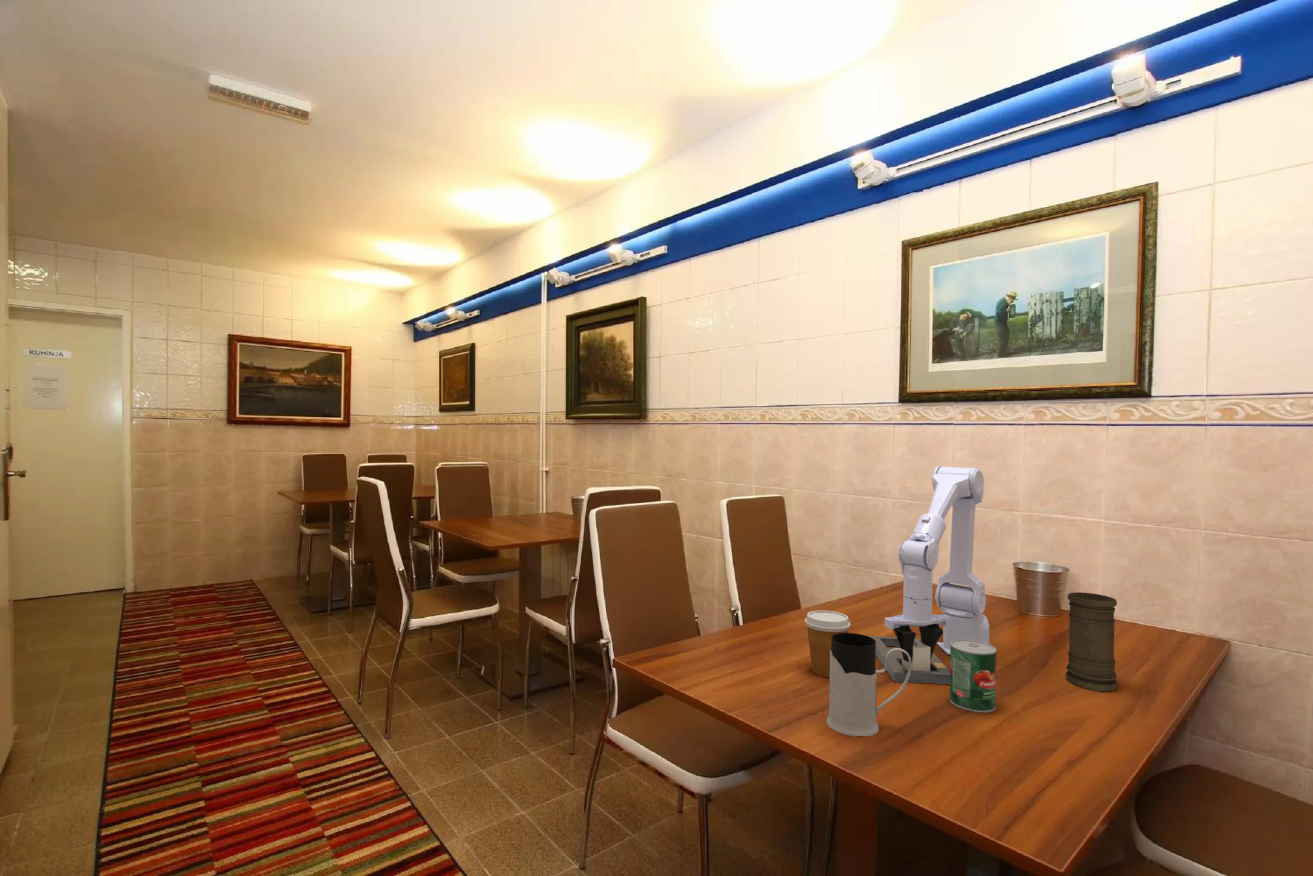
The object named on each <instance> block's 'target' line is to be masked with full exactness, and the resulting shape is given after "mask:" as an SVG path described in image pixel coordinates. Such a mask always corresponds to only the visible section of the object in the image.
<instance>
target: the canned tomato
mask: <svg viewBox="0 0 1313 876" xmlns="http://www.w3.org/2000/svg"><path fill="white" fill-rule="evenodd" d="M950 645H951V649H950V655H949V657H950V658H949V659H950V660H949V662H950V663H949V670H950V685H949V701H950V703H951V704H952V705H953V704H954V705H953V706H955V707H956V708H959V709H961V708H962V709H961V710H964V711H967V710H969V711H968V712H971V711H975V712H974V713H979V712H980V714H982V712H983V714H986V713H987V714H988V713H992V712H994V711H995V710H996V709H997V707H996V703H997V701H996V700H997V696H996V695H997V693H996V691H997V648H996V647H995V646H994V645H992V644H990V643H989V644H987V643H984V642H980V641H974V640H954V641H952V642H951V643H950Z"/></svg>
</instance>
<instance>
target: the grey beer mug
mask: <svg viewBox="0 0 1313 876" xmlns="http://www.w3.org/2000/svg"><path fill="white" fill-rule="evenodd" d="M869 636H870V635H865V634H860V633H853V632H848V633H838V634H834V635H832V637H831V651H830V677H829V700H828V701H829V703H828V704H829V710H828V711H829V712H828V716H827V718H826V724H827V726H828V727H829V728H831V730H833V731H834V732H837V733H839V734H842V735H846V736H851V737H857V736H865V737H870V736H871V737H872V736H874V735H876V734H877V733H878V732H879V730H880V729H879V728H880V727H879V725H878V723H877V721H878V720H877V717H878V714H879V712H880V710H881V709H882V708H884V707H885V706H886V705H888V704H889V703H890V702H892V701H893V700H894V699H895V698H897V697H898V696H899V695H900V694H901V693H902V692H903V691H904V689H905V688H906V686H907V684H908V683H907V682H908V680H909V677H910V673H911V658H910V656H909V654H908V653H907V652H906V651H905V650H903V649H900V648H901V647H893V648H894V649H891V650H890V651H889V652H888V653H887V654H886V656H885V660H884V667H883V668H882V669H880V670H879V669H877V668H876V667H877V666H876V663H877V661H876V659H877V657H876V641H875V640H874V639H873V638H871V637H869ZM894 651H902V652H904V653H905V654H906V655H907V656H908V661H909V666H908V673H907V676H906V679H905V681H904V682H902V684H901V686H900V688H899V689H898V690H897V691H895V693H894V694H892V695H891V696H890V697H889V698H887V699H886V700H884V701H883V702H882V703H880V704H879V705H878V706H877V674H882V673H884V672H885V671H886V668H887V660H888V657H889V655H890V654H891V653H892V652H894ZM886 672H887V671H886Z"/></svg>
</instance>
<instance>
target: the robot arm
mask: <svg viewBox="0 0 1313 876" xmlns="http://www.w3.org/2000/svg"><path fill="white" fill-rule="evenodd" d="M931 483H932V488H933V489H932V490H933V494H932V497H931V501H930V504H929V506H928V510H927V513H923V514H921V515H920V516H919V518H918V519H917V522H916V524H915V526H914V528H913V531H912V533H911V535H910V537H909V539H907V540H905V541H903V542H901V544H900V546H899V550H898V553H897V554H898V561H899V563H900V572H901V574H902V575H903V584H902V585H903V587H902V588H903V590H902V591H903V592H902V593H903V595H902V597H903V598H902V599H903V600H902V601H903V602H902V603H903V604H902V606H903V608H902V614H899V615H895V616H890V617H884V627H885V628H886V629H888V630H892V631H893V633H894V634H895V637H897V639H898V641H899V644H900V647H899V648H901V649H903V650H905V651H906V652H907V653H908V654H909V656H910V658H911V662H912V657H913V644H914V639H915V638H916V636H917V633H916V632H914V631H912V628H918V629H919V633H920V634H919V635H920V640H921V642H922V643H923V644H925V645H927V646H929V647H930V661H931V658H932V654H934V651H935V648H936V645H937V646H939V648H940V649H942V650H943V651H944V652H945V653H946V654H947V655H949V656H950V649H951V645H950V643H951V642H952V641H954V640H974V641H980V642H984V643H987V644H990V625H989V620H988V618H987V616H986V615H984V612H985V609H986V605H987V596H986V593H985V587H986V586H985V583H984V582H983V581H982V580H981V579H980V578H979V577H977V575H975V574H974V573H973V560H974V559H973V558H974V544H975V542H974V540H975V538H974V537H975V520H976V518H975V516H976V505H977V504H979V503H982V502H983V498H984V487H985V484H984V483H985V479H984V475H983V473H982V471H981V469H980V468H979V467H955V466H942V465H938V466H936V467H935V468H934V469H933V472H932V476H931ZM951 508H952V513H951V514H952V517H951V518H952V519H951V533H950V551H949V552H950V554H949V571H947V572H946V573H943V574H942V575H940V577H939V578H938V580H937V587H936V589H935V596H934V598H935V603H936V604H937V606H938V607H939V608H940V612H942V614H937V613H936V614H935V613H934V614H933V574H934V573H933V572H934V571H933V570H934V569H935V568H936V566H937V564H938V561H939V552H940V546H939V545H940V542H941V540H942V538H943V535H944V532H945V531H946V529H947V526H946V522H945V521H944V519H945V518H946V517H947V515H948V513H949V511H950V509H951ZM940 626H943V628H942V627H940ZM941 636H942V638H943V639H942V642H941V641H939V639H940V638H941ZM938 641H939V642H938ZM902 655H903V660H905V661H907V662H909V661H908V656H907V655H906V654H905V653H904V652H902Z"/></svg>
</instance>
